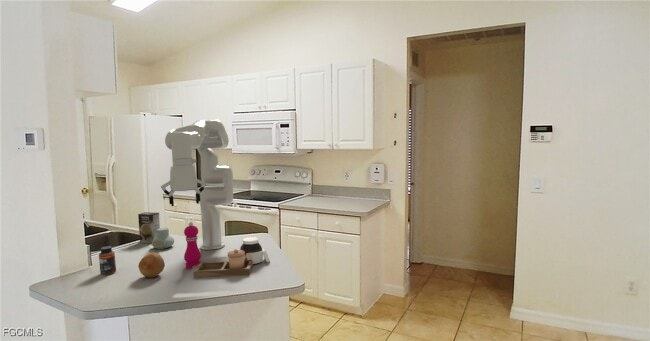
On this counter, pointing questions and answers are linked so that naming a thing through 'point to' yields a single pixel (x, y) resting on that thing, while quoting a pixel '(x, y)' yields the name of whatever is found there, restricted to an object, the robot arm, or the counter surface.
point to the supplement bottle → (107, 261)
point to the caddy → (221, 269)
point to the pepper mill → (191, 247)
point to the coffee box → (148, 226)
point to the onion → (151, 265)
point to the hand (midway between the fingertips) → (185, 204)
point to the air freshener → (163, 239)
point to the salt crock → (236, 259)
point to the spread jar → (253, 251)
